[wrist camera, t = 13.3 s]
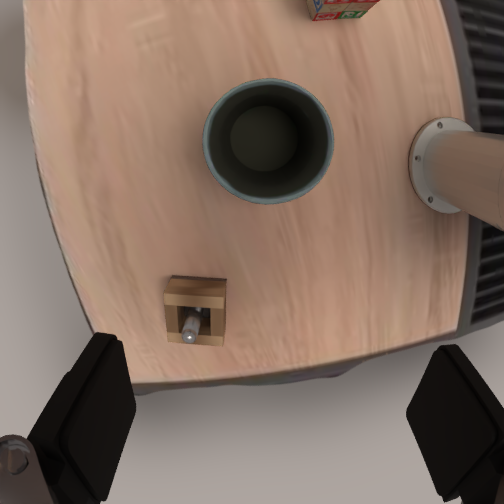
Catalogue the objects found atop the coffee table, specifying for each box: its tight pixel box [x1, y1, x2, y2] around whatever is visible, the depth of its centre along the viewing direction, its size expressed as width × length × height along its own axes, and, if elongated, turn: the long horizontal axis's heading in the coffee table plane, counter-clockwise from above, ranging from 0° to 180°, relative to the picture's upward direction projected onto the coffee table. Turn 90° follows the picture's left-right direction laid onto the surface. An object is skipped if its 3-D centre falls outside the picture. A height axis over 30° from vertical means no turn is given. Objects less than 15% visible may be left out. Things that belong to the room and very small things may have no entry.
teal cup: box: [203, 78, 334, 204], centre depth 29 cm, size 10×10×12 cm
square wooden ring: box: [163, 278, 226, 346], centre depth 40 cm, size 7×7×4 cm
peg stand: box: [171, 275, 227, 343], centre depth 38 cm, size 7×7×9 cm
